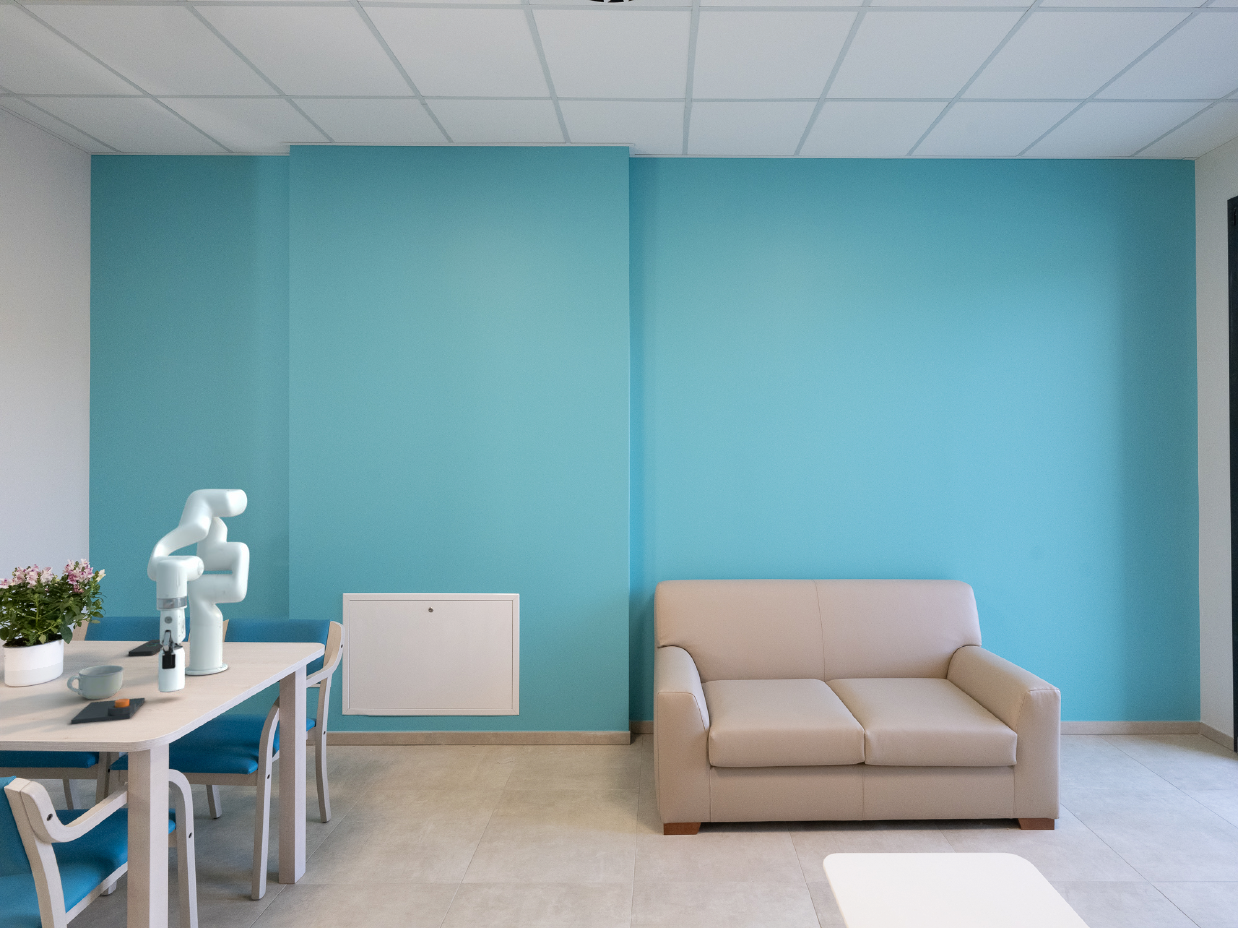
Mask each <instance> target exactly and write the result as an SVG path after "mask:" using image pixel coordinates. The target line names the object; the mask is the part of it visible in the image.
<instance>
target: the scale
mask: <svg viewBox="0 0 1238 928" xmlns="http://www.w3.org/2000/svg"><path fill="white" fill-rule="evenodd" d="M128 699H129V706H126V707H120V708H115V701H116V700H117V699H114V700H113V699H112V700H102V701H91V702H90V703H88V704H87V705H86V706H85V707H84V708H83V709H82V710H80V712H78V713H77V714H76V715H75V716H73V718H72V719H71V721H70V724H71V725H79V724H80V725H81V724H88V723H100V722H112V721H121V720H131V718H132V717H133V716H134V715H135V713H136V712H137V711H138V710H139V709H140V708H141V707H142V705H143V704H144V703H145V702H146V698H145V697H135V698H128Z"/></svg>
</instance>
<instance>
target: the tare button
mask: <svg viewBox="0 0 1238 928" xmlns="http://www.w3.org/2000/svg"><path fill="white" fill-rule="evenodd" d="M129 699H130V698H119V699H115V700H116V701H115V708H120V707H126V706H129Z"/></svg>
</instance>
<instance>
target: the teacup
mask: <svg viewBox="0 0 1238 928" xmlns="http://www.w3.org/2000/svg"><path fill="white" fill-rule="evenodd" d="M123 674H124V667H122V666H120V665H115V664H114V665H113V664H105V665H104V664H103V665H94V666H88V667H86V668H83V669H80V670H79V671H78V675H72V676H71V677H69V678H68V679H67V682H66V687H67V689H69V690H70V691H72V692H75V693H77V695H79V696H82V697H84V698H85V699H86V700H105V699H108V698H111V697H113V696H114V695H115V694H116V693H119V692H120V690H121V688H122V684H123ZM75 680H77V681H78V688H75V687H74V686H73V682H74V681H75Z"/></svg>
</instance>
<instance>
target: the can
mask: <svg viewBox="0 0 1238 928" xmlns="http://www.w3.org/2000/svg"><path fill="white" fill-rule="evenodd" d="M169 647H171V648H172V646H169ZM160 650H161V651H159V652H158V658H157V659H158V665H157V666H158V667H157V668H158V669H157V670H158V671H157V674H158V675H157V677H158V678H157V685H158V687H157V689H158V691H159V692H160V693H173V692H174V693H175V692H180V691H182V690H183V689H184V688H185V683H186V682H185V677H186V674H185V668H186V665H185V664H186V660H185V659H186V657H185V655H186V653H185V650H184V646H183V645H175V650H174V654H176V660H175V668H174V669H162V652H163V647H162V648H161V649H160Z"/></svg>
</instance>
